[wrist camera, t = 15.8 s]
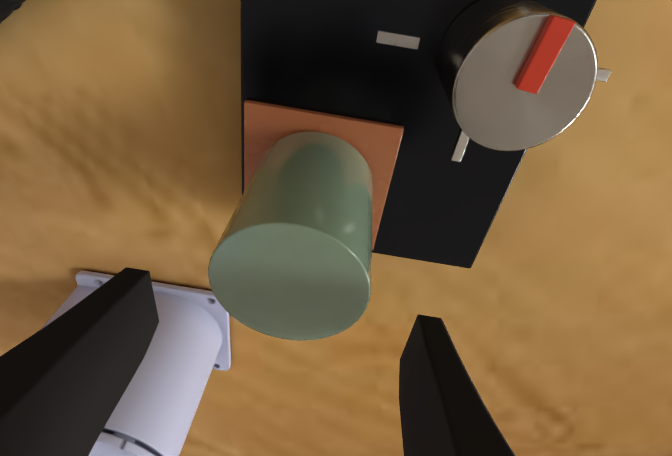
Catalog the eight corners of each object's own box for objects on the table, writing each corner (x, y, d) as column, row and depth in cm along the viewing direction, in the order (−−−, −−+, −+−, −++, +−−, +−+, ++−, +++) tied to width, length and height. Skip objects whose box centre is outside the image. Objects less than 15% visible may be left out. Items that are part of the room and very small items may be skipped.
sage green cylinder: (256, 220, 18) (211, 328, 13) (258, 119, 15) (202, 209, 10) (362, 238, 18) (355, 351, 13) (384, 140, 15) (386, 239, 10)
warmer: (255, 202, 21) (240, 233, 19) (260, -136, 13) (236, -149, 11) (488, 241, 21) (500, 276, 19) (637, -70, 13) (687, -70, 11)
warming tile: (245, 225, 19) (244, 229, 18) (246, 99, 15) (243, 102, 15) (372, 246, 19) (372, 250, 18) (403, 126, 15) (404, 129, 15)
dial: (517, 119, 14) (553, 170, 11) (421, 94, 14) (433, 139, 11) (574, 10, 12) (638, 37, 9) (464, -21, 12) (492, -5, 9)
